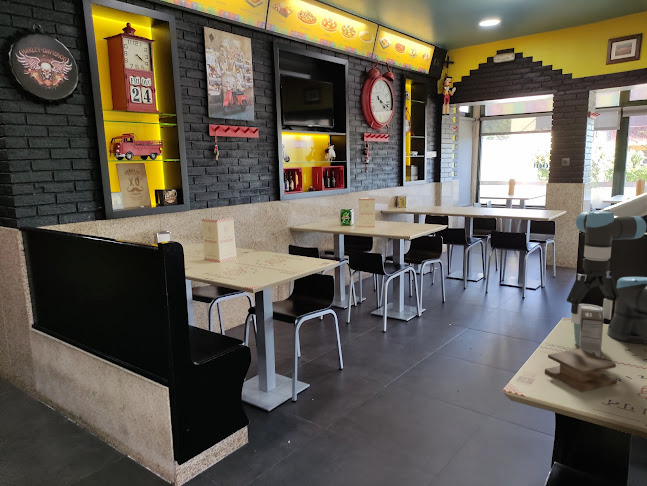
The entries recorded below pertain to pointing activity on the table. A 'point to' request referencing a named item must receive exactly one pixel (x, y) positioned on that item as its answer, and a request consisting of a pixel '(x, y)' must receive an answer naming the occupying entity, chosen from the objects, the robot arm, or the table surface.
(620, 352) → the table surface
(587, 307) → the disposable coffee cup
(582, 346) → the coffee box
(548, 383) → the table surface
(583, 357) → the pedestal
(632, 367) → the table surface
